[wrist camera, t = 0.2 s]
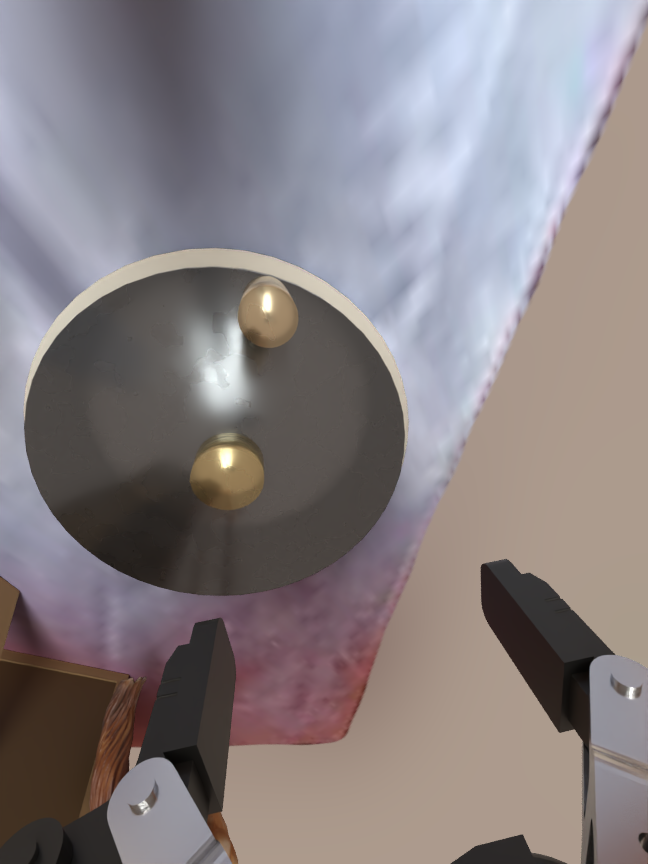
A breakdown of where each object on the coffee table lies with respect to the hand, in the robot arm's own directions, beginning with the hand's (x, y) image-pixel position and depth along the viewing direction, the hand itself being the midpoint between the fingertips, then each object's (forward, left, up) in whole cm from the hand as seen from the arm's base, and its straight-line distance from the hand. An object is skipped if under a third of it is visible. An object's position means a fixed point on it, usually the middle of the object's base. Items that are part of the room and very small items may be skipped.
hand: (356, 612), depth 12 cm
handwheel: (+6, -4, -20) cm, 21 cm away
